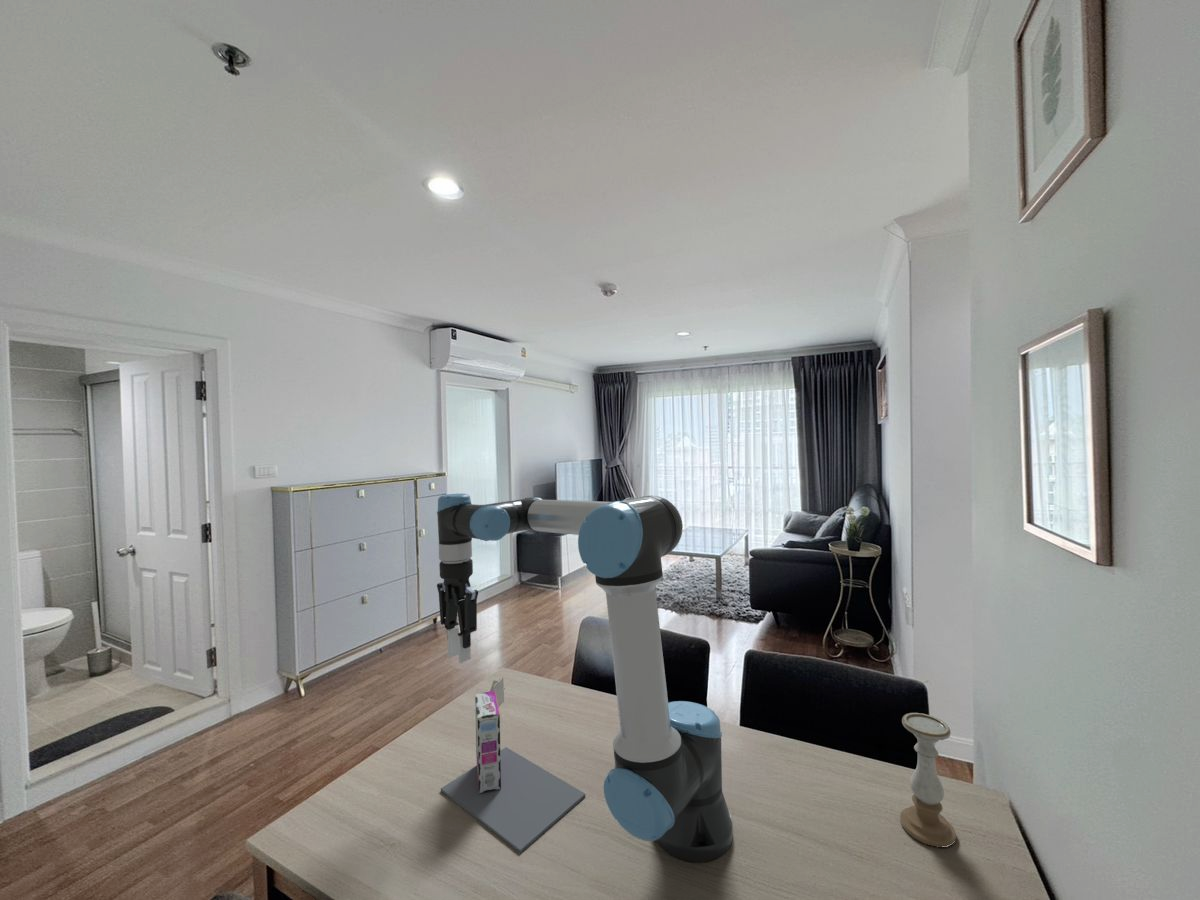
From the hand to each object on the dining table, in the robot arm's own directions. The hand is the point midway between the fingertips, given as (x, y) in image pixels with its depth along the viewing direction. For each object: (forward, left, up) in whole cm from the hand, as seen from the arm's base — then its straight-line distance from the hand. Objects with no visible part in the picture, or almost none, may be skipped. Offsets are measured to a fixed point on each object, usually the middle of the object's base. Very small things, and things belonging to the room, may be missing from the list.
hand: (459, 657), depth 116 cm
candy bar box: (-10, 0, -24) cm, 26 cm away
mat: (-18, 0, -25) cm, 30 cm away
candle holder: (-88, -42, -25) cm, 101 cm away
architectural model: (+13, -20, -25) cm, 35 cm away
